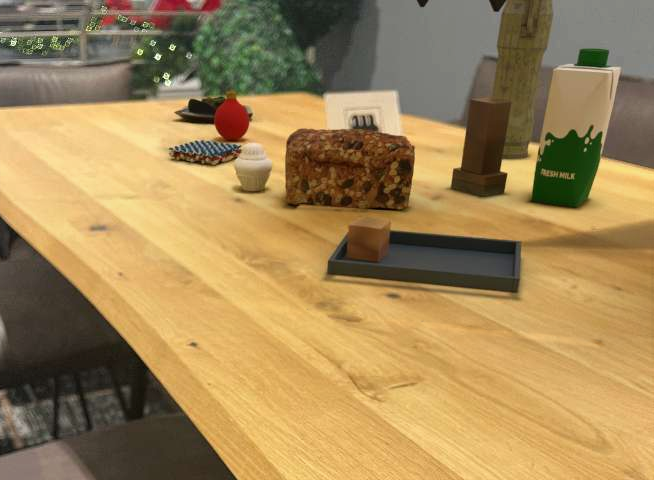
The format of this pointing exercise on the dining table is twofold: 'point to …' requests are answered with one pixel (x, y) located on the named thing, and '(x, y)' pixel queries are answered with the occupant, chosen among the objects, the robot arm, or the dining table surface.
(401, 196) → the bread
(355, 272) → the tray
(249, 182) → the muffin
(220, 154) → the woven mat
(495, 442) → the dining table surface
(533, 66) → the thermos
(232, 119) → the christmas ornament
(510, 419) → the dining table surface
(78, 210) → the dining table surface
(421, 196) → the dining table surface
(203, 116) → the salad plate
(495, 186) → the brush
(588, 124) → the milk carton
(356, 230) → the wooden block
